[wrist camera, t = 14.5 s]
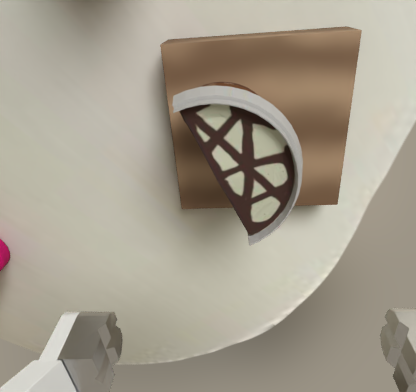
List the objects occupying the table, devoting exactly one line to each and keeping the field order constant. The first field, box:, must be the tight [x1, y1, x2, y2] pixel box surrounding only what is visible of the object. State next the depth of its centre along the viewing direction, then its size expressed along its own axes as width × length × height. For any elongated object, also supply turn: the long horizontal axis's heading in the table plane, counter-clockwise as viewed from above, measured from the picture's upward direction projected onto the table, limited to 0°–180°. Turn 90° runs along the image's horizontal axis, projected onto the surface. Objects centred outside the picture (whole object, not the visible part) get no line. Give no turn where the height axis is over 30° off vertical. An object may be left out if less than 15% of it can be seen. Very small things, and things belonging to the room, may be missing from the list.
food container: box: [172, 82, 303, 245], centre depth 26 cm, size 12×6×10 cm, turn 28°
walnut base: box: [161, 27, 362, 209], centre depth 33 cm, size 16×16×4 cm
